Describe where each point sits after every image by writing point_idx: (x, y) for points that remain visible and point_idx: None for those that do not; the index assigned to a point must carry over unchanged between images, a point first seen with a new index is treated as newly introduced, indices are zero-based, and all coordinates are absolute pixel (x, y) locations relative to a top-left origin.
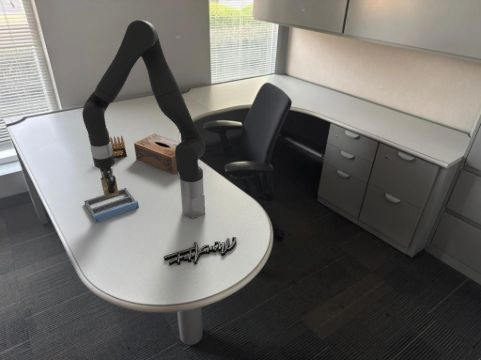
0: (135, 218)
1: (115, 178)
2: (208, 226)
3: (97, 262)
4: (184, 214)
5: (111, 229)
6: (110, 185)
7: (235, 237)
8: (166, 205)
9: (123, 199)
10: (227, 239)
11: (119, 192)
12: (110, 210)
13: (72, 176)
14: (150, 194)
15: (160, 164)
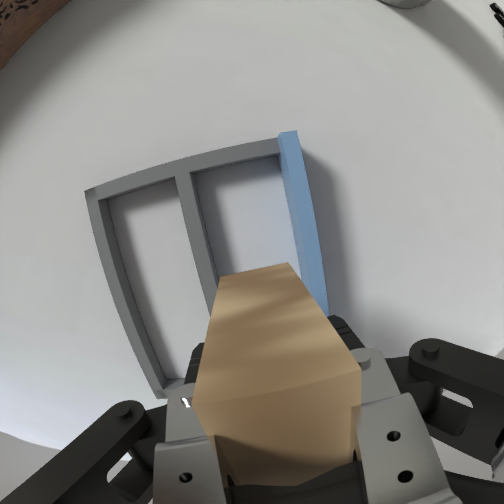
0: (377, 181)
1: (358, 364)
2: (456, 3)
3: (486, 335)
4: (404, 7)
5: (400, 299)
6: (440, 398)
7: (494, 3)
8: (320, 23)
9: (198, 215)
10: (501, 17)
11: (109, 230)
12: (322, 308)
13: (3, 376)
14: (184, 63)
15: (11, 30)
